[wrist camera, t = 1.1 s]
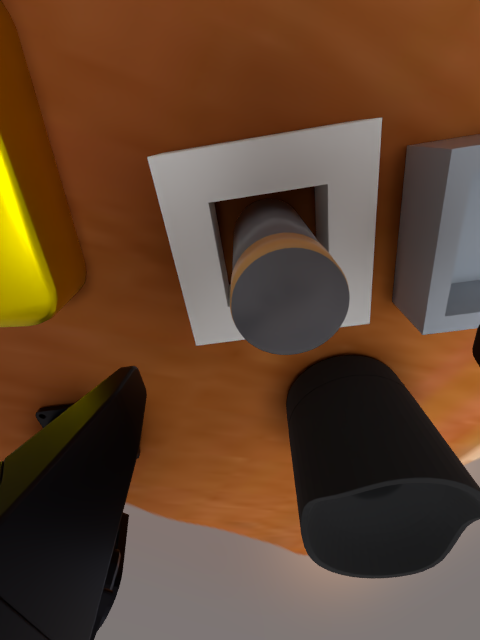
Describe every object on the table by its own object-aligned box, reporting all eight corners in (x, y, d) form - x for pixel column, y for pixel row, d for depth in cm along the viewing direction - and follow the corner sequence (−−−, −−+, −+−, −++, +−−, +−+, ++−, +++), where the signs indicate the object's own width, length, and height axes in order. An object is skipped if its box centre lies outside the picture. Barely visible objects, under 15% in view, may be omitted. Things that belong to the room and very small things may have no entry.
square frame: (201, 320, 22) (196, 345, 19) (161, 153, 17) (147, 157, 14) (353, 299, 21) (369, 323, 18) (358, 119, 16) (382, 117, 13)
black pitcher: (256, 388, 25) (267, 526, 16) (369, 324, 22) (456, 449, 13) (318, 453, 29) (354, 593, 20) (422, 405, 26) (515, 543, 17)
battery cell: (238, 272, 20) (239, 362, 12) (227, 203, 18) (219, 258, 10) (305, 263, 20) (349, 348, 12) (301, 192, 18) (352, 239, 10)
